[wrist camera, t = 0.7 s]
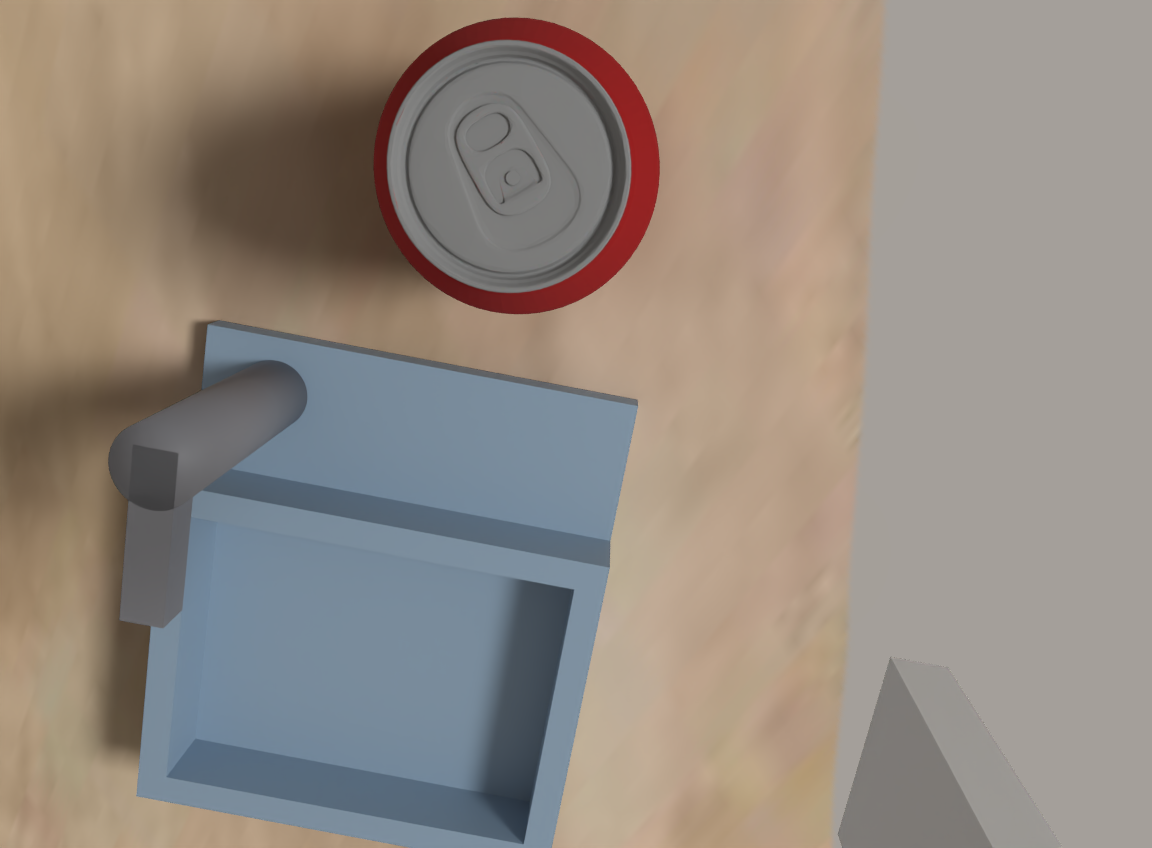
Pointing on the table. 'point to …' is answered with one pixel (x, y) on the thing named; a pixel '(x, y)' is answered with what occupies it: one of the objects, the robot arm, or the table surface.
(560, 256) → the beverage can
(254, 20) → the table surface
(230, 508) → the light blue hollow tray
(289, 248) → the table surface
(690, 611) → the table surface
